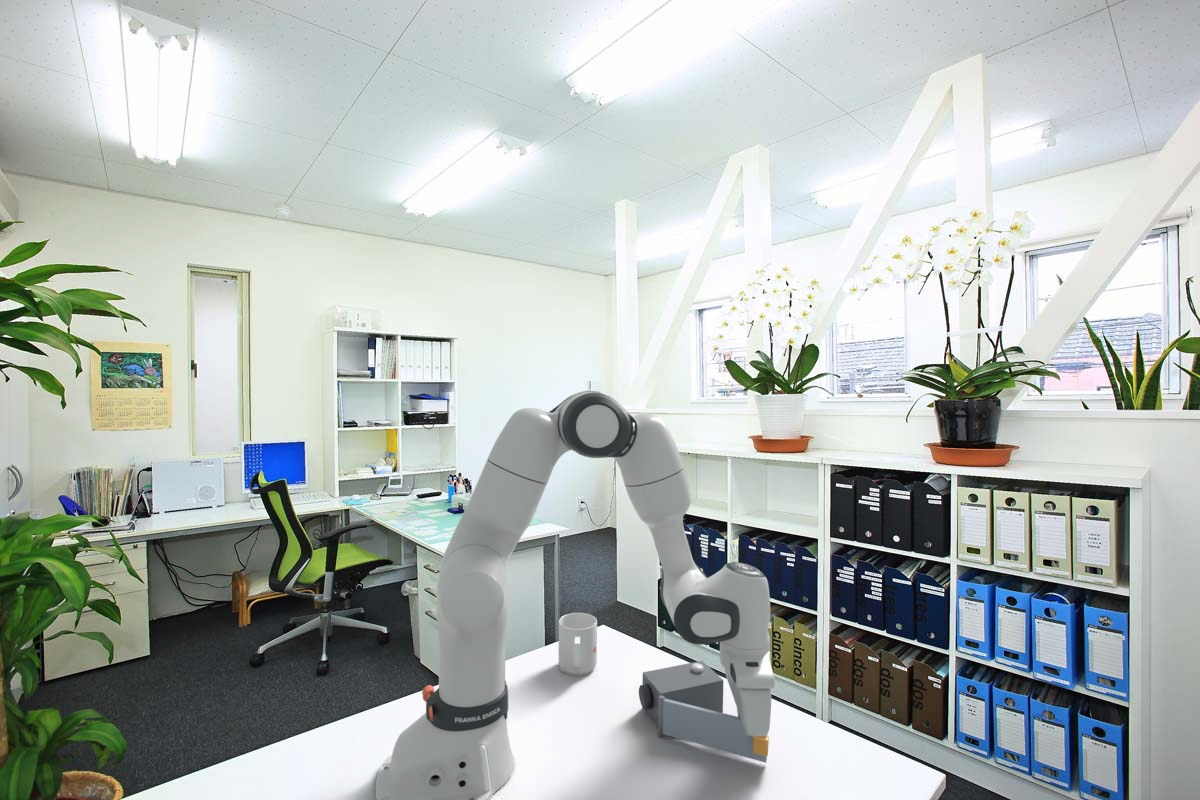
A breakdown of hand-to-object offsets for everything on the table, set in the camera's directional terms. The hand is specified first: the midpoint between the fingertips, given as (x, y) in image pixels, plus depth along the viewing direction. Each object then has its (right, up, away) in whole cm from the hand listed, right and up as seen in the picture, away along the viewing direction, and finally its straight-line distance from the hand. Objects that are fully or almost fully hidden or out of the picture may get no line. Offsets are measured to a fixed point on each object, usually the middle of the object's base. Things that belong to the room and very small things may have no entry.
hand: (744, 727), depth 100 cm
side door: (-6, -4, -1) cm, 8 cm away
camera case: (-10, -3, +11) cm, 15 cm away
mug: (-32, -3, +26) cm, 41 cm away
